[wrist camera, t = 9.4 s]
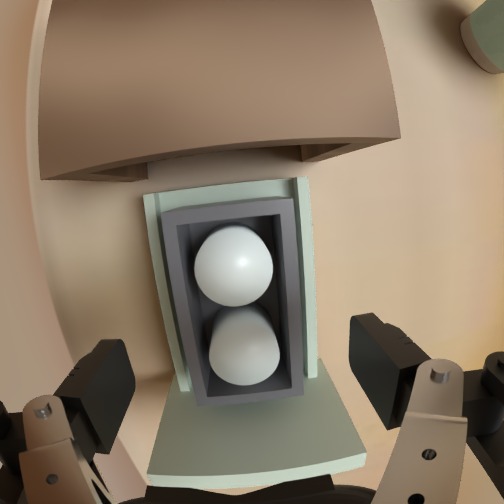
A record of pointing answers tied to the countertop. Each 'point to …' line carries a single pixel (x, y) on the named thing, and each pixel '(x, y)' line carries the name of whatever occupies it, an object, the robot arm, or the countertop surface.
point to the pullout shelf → (253, 413)
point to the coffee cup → (486, 35)
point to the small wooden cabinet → (208, 82)
